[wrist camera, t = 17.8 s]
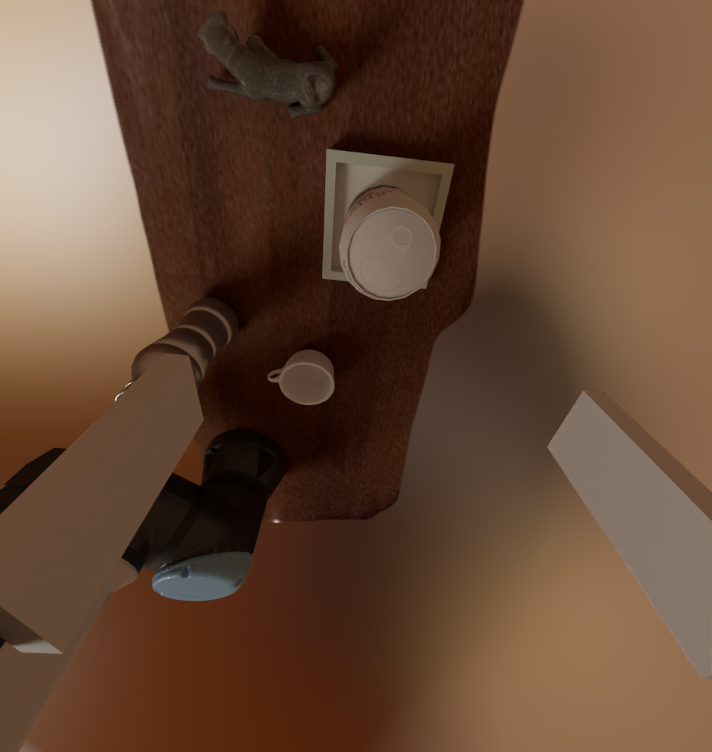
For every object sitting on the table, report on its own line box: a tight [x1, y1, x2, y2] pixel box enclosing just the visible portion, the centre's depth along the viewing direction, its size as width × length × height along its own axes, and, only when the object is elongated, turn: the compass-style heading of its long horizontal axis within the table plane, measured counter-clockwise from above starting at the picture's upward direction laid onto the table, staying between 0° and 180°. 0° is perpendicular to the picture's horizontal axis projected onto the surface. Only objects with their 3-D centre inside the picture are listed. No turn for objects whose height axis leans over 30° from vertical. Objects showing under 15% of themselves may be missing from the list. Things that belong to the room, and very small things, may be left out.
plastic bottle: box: [115, 297, 239, 401], centre depth 36 cm, size 6×7×20 cm
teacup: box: [267, 350, 334, 405], centre depth 47 cm, size 10×8×5 cm
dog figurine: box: [198, 10, 339, 118], centre depth 27 cm, size 12×6×7 cm, turn 77°
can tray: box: [322, 149, 455, 289], centre depth 36 cm, size 13×13×2 cm
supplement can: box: [339, 183, 441, 301], centre depth 30 cm, size 8×8×15 cm
